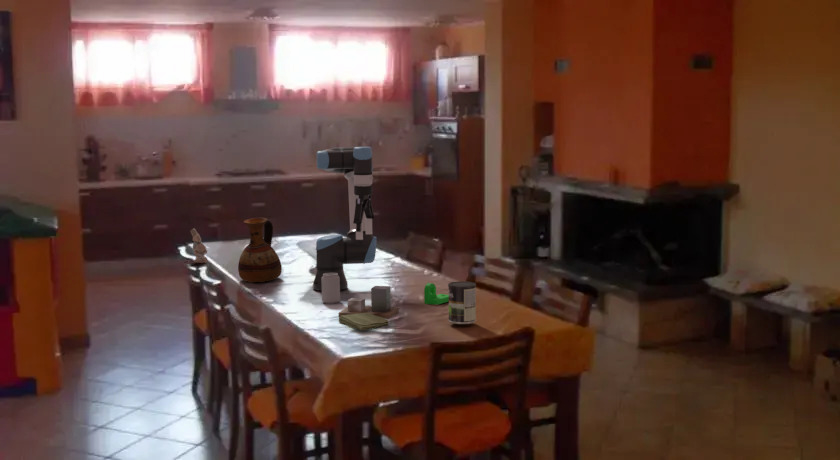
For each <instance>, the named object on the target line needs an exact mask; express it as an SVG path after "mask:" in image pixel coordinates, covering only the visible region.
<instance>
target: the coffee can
mask: <svg viewBox="0 0 840 460" xmlns="http://www.w3.org/2000/svg"><path fill="white" fill-rule="evenodd" d="M447 286H448V295H449V301H448V322H449V323H451V324H454V325H469V324H475V322H477V320H476V315H477V313H476V309H477V307H476V304H477V302H476V299H477V298H476V296H477V295H476V294H477V292H476V290H477V289H476V288H477V284H476V282H473V281H467V280H466V281H465V280H464V281H463V280H462V281H461V280H460V281H459V280H458V281H453V282H449V283H448V285H447Z"/></svg>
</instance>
